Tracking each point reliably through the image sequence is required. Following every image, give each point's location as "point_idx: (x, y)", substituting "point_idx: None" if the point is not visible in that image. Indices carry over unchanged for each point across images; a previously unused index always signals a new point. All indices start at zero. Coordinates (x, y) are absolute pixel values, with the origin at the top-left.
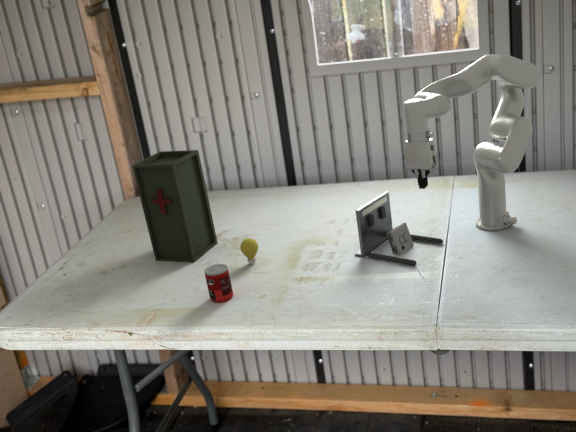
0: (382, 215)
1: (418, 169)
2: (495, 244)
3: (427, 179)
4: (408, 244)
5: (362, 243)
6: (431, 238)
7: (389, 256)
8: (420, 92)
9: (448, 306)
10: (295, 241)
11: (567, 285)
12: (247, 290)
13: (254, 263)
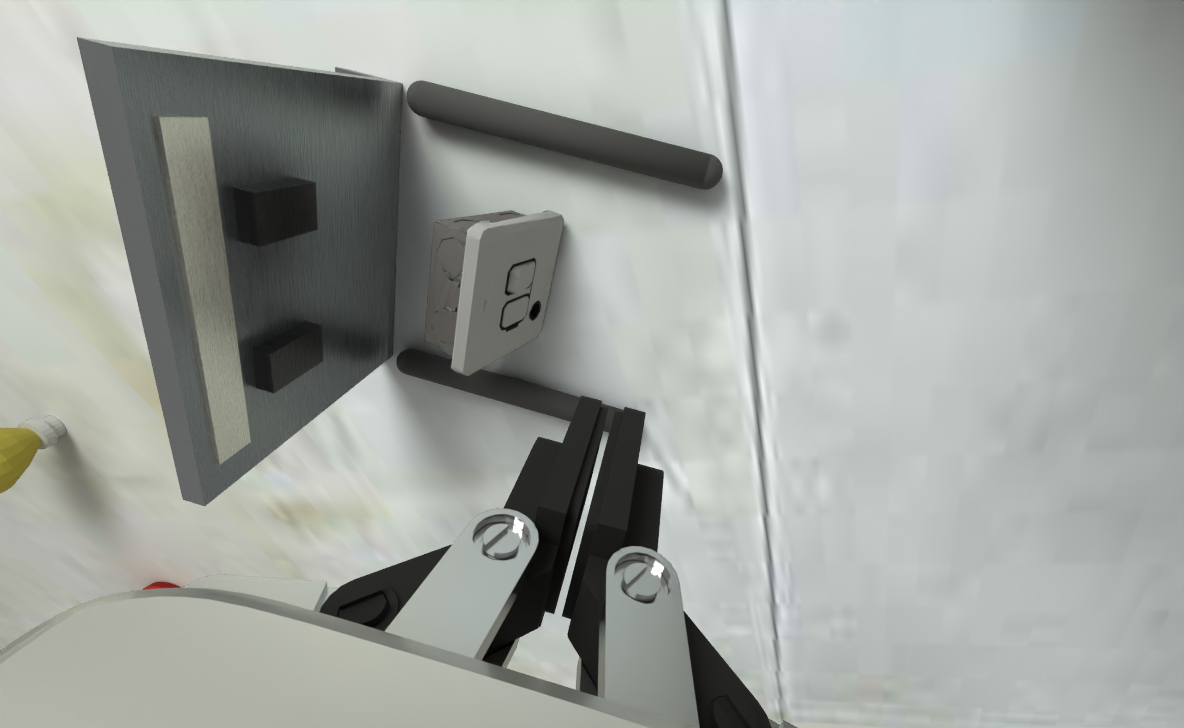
0: (300, 233)
1: (428, 634)
2: (1061, 133)
3: (657, 525)
4: (546, 263)
5: (353, 386)
6: (651, 167)
7: (509, 399)
8: None
9: (808, 651)
10: (7, 219)
11: None
12: (200, 571)
13: (63, 429)
